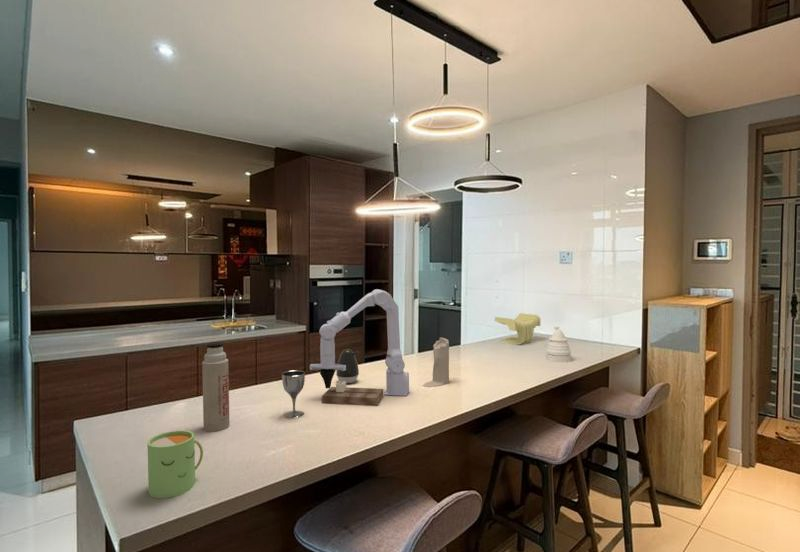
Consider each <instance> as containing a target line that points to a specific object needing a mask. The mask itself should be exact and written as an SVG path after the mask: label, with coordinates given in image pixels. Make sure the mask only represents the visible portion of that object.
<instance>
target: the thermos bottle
mask: <svg viewBox="0 0 800 552" xmlns="http://www.w3.org/2000/svg"><path fill="white" fill-rule="evenodd" d="M223 346H224V344H223V343H221V342H213V343H208V344H206V348H207V349H206V350H207V351H206V353H204V356H203V359H204V360H203V361H202V362H201V365H202V370H201V371H202V408H203V409H202V413H203V415H202V416H203V419H202V421H203V430H204V431H205V432H212V433H213V432H221V431H223V430H226V429H228V428H229V427H230V426H231V425H230V382H229V380H230V379H229V375H230V374H229V359H228V358H227V353H226V352H225V351H224V347H223Z"/></svg>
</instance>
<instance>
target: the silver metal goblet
mask: <svg viewBox="0 0 800 552" xmlns="http://www.w3.org/2000/svg"><path fill="white" fill-rule="evenodd" d="M281 374H282V375H281V380H282V381H281V382H282V386H283V390H284V391H285V392H286V393H287V394H288V395H289V397H290V398H291V401H292V402H291V403H292V410H291V411H288V412H285V413H284V414H283V416H284V418H288V419H294V418H300V417H302V416H304V415H305V411H302V410H296V402H297V401H296V400H297V397H298V395H299V394H300V393H301V391H302V390H303V389H304V386H305V379H306V378H305V377H306V373H305V371H303V370H297V369H296V370H288V371H284V372H282V373H281Z"/></svg>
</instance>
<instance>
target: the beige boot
mask: <svg viewBox="0 0 800 552" xmlns="http://www.w3.org/2000/svg"><path fill="white" fill-rule="evenodd" d="M432 366H433V367H432V368H433V369H432V380H430V381H428V382H425V383H424V384H423V385H422V386H423V387H426V388H431V387H440V386H443V385H448V384H449V383H450V343H449V339H447V338H445V337H439V340H436V341H435V343H434V344H433V365H432Z"/></svg>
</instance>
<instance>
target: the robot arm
mask: <svg viewBox="0 0 800 552" xmlns="http://www.w3.org/2000/svg"><path fill="white" fill-rule="evenodd" d="M376 305H377V306H380V307H381V308H382V309H383V310H384V311H385V312H386V327H387V328H386V330H387V332H386V333H387V351H386V358H385V359H384V360H385V365H386V367H387V369H386V373H385V374H386V376H385V377H386V381H385V382H386V385H385V387H386V389H385V391H384V392H383V396H401V397H402V396H405V397H406V396H408V395H409V392H410V374H409V372H408V371H404V369H405V365H406V364H405V361H404V359H403V354H402V350H401V341H400V340H401V339H400V338H401V337H400V336H401V335H400V316H399V315H400V314H399V313H400V312H399V305H398V304H397V302H396V301H395V300H394V298H393V297H392V294H390V293H389V292H387V291H385V290H383V289H378V288H376V289H373V290H372V291H371V292H368V293H367V294H365V295H364V296H363V297H361V299H359V300H358V301H357V302H356V303H355V304H354V305H352V306H351V307H350V308H349V309H347V311H340V312H336V314H335V316H334V317H333V318H331V319H329V320H327V321H326V323H324V324H322V325H321V327H319V335H320V345H319V350H320V351H319V352H320V353H319V354H320V363H311V364H309V371H313V370H315V371H316V370H318V371H319V375H320V376H321V377H322V380H323V383H324V386H325V387H324V388H325V389H330V388H331V387H332V385H331V384H332V380H333V377H334V375H335V374H336V371H337V370H342V371H345V370H346V365H340V364H338V363H336V351H335V350H336V349H335V348H336V347H335V346H336V343H335V337H336V335H337V333H339V332H341V331H342V329H344V328H345V327H346V326H348V325H349V324H351V320H352V318H353V317H355V316H356V315H357V314H359V313H360V312H361V311H363V310H364V309H365V308H367V307H375V306H376Z"/></svg>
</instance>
